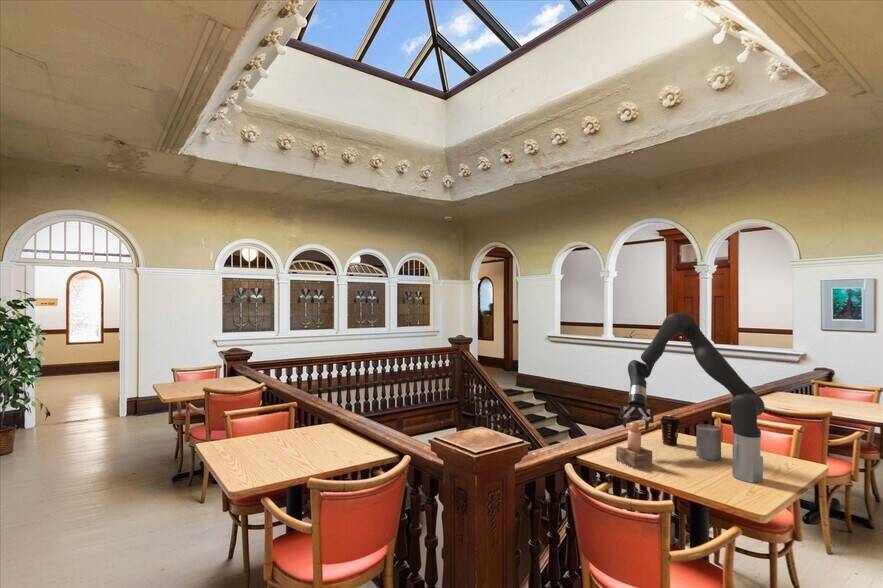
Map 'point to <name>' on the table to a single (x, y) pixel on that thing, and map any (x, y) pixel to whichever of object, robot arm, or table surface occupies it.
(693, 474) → the table surface
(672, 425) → the coffee cup
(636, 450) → the peg doll
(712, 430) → the pillar candle
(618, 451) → the pedestal
